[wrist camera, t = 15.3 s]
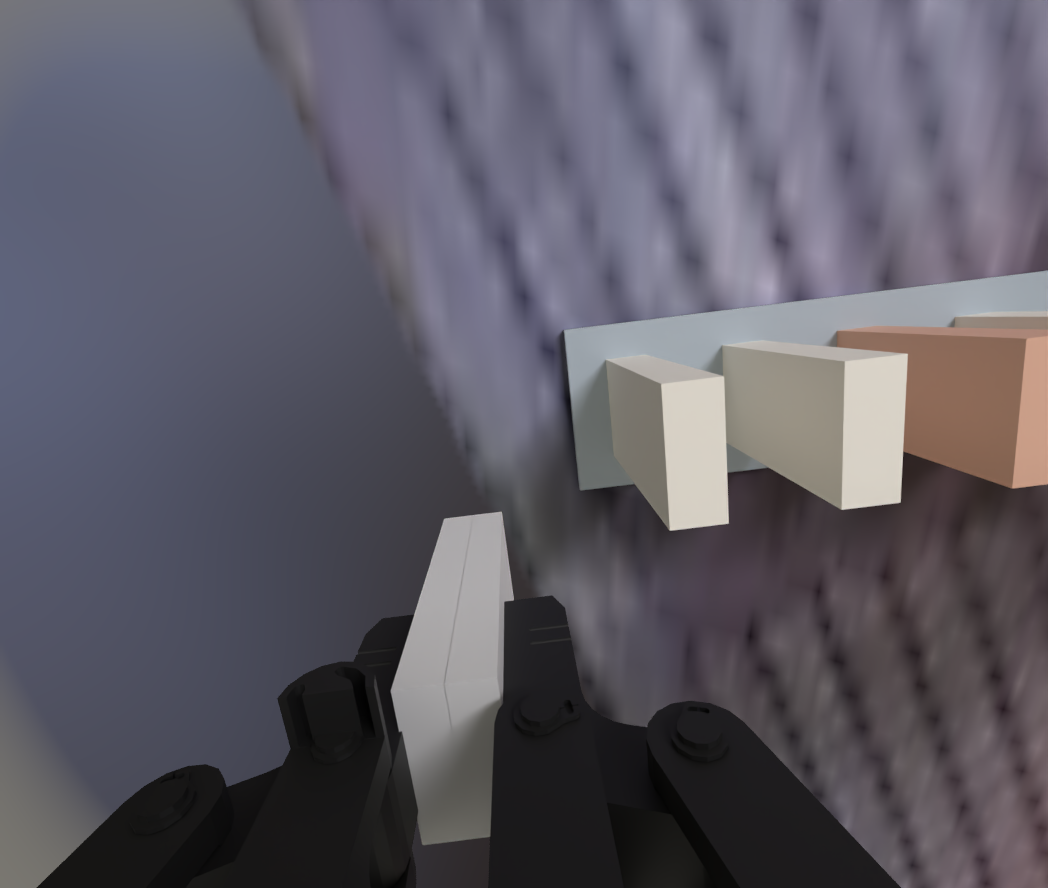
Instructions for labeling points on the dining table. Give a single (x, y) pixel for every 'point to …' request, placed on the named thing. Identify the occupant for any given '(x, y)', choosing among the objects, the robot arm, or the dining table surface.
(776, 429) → the domino
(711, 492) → the end domino
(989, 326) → the domino
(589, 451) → the mat
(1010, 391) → the domino
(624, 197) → the dining table surface
